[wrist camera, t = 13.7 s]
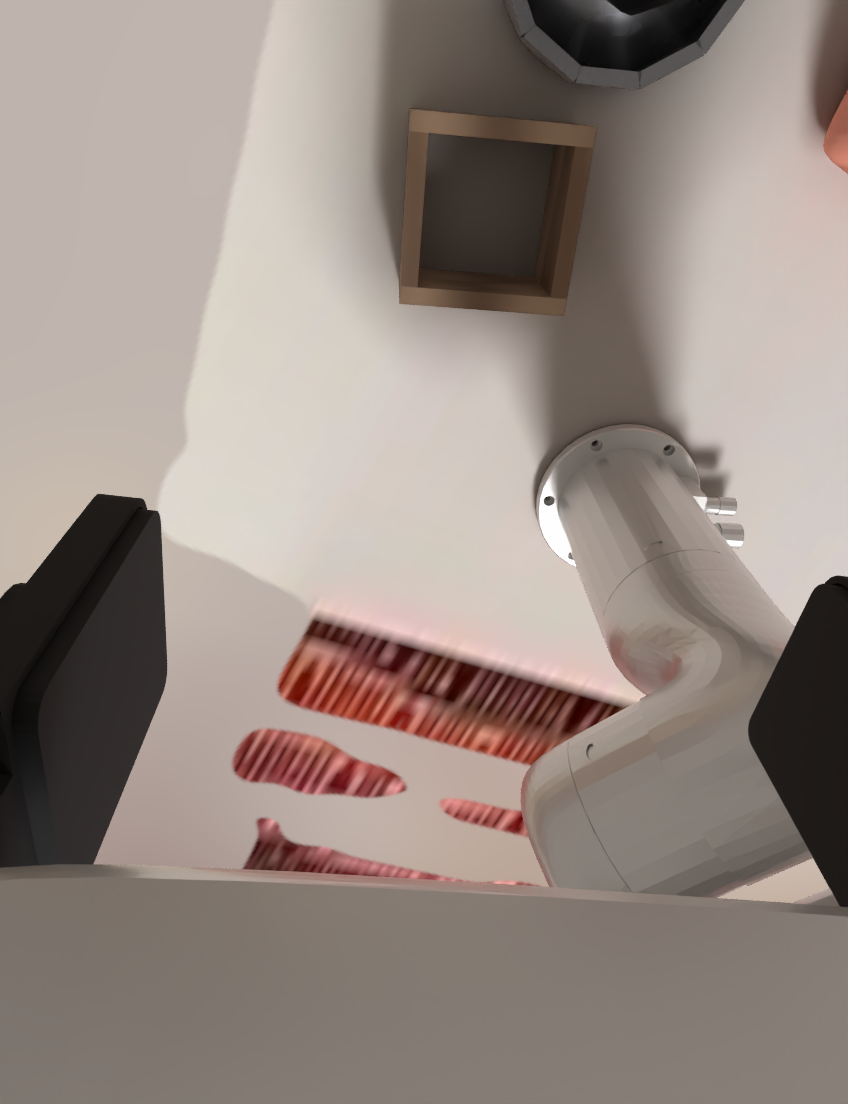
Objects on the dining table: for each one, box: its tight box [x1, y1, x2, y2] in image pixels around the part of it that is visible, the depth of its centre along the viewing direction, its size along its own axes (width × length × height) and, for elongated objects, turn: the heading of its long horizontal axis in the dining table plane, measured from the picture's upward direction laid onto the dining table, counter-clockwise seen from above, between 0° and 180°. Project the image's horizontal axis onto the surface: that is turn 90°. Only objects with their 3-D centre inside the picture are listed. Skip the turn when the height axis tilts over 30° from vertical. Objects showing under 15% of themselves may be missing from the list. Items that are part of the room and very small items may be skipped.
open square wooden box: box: [399, 108, 597, 316], centre depth 45 cm, size 10×10×6 cm
